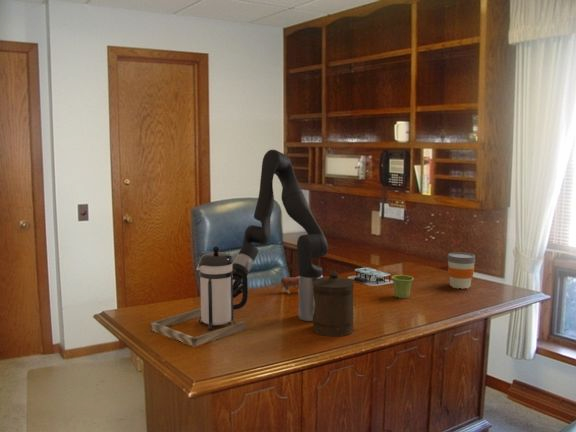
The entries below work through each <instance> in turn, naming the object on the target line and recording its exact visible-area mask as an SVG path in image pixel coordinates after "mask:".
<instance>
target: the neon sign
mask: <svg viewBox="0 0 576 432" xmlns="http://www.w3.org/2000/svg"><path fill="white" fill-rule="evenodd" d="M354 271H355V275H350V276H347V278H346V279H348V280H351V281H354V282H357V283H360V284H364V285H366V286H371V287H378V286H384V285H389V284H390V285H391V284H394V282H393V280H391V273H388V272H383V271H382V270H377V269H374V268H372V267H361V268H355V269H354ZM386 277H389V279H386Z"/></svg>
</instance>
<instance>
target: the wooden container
mask: <svg viewBox="0 0 576 432" xmlns="http://www.w3.org/2000/svg"><path fill="white" fill-rule="evenodd" d="M328 276H329V277H327V276H326V277H323V278H320V279H317V280H315V281H314V294H313V321H312V330H313V332H315V334H318V335H321V336H324V337H345V336H348V335H350V334H352V333H353V332H354V318H355V317H354V316H355V315H354V314H355V313H354V310H355V309H354V282H353V280H348V278H344V277H339V273H338V272H337V271H335V270H332V271H331V272H329V273H328Z"/></svg>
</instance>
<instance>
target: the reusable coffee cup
mask: <svg viewBox="0 0 576 432" xmlns="http://www.w3.org/2000/svg"><path fill="white" fill-rule="evenodd" d="M447 263H448V265H447V271H448V276H449V285H450V287H451V286H452V288H454V289H459V288H461V289H463V290H464V289H465V288H466V289H469V287H470V288H471V283H472V279H473V277H474V273H475V263H476V255H475V254H472V253H469V252H468V253H467V252H458V251H457V252H450V253H448V254H447ZM466 289H465V290H466Z"/></svg>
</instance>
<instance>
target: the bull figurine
mask: <svg viewBox="0 0 576 432" xmlns="http://www.w3.org/2000/svg"><path fill="white" fill-rule="evenodd" d="M280 282H281V285H282V286H281V287H282V289H283V290H282V291H283V292H284V293H286V292H287V294H289V295H290V294H291V291H290V290H289V287H290V288H291V289H293V288H296V287H297V293H298V294H299V276H296V277H295V276H294V277H291V276H290V277H288V276H287V277H286V276H285V277H282V278H281V279H280Z"/></svg>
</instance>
